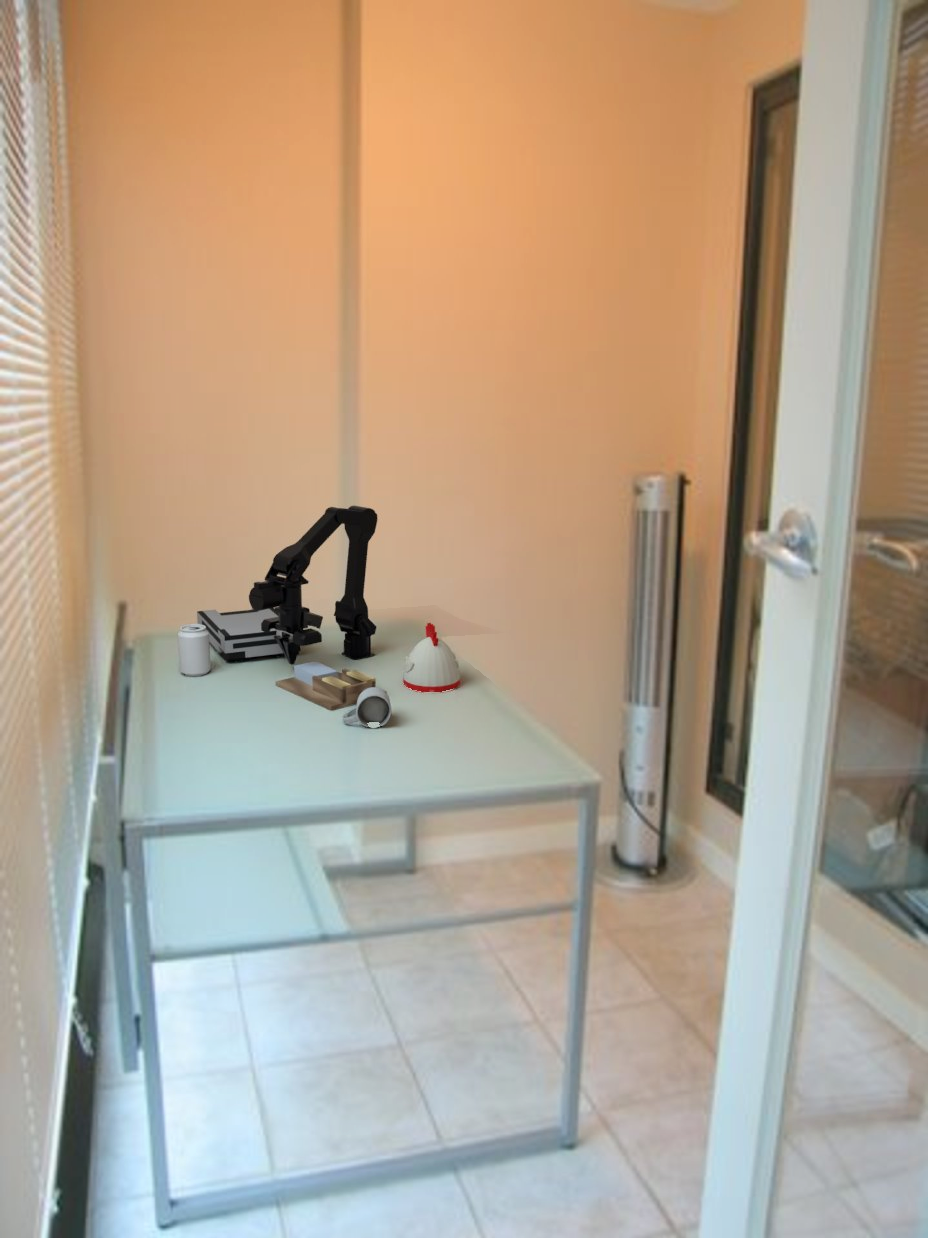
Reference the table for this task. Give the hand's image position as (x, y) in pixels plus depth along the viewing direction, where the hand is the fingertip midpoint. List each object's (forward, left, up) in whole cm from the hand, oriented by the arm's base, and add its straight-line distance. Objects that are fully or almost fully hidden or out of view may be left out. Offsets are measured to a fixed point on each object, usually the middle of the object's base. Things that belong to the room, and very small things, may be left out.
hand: (291, 664), depth 262 cm
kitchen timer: (-22, +28, -3) cm, 36 cm away
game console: (-5, -29, -3) cm, 29 cm away
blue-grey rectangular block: (0, +11, -2) cm, 11 cm away
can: (+18, -16, -3) cm, 24 cm away
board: (0, +17, -2) cm, 17 cm away
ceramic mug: (+6, +39, -3) cm, 40 cm away
